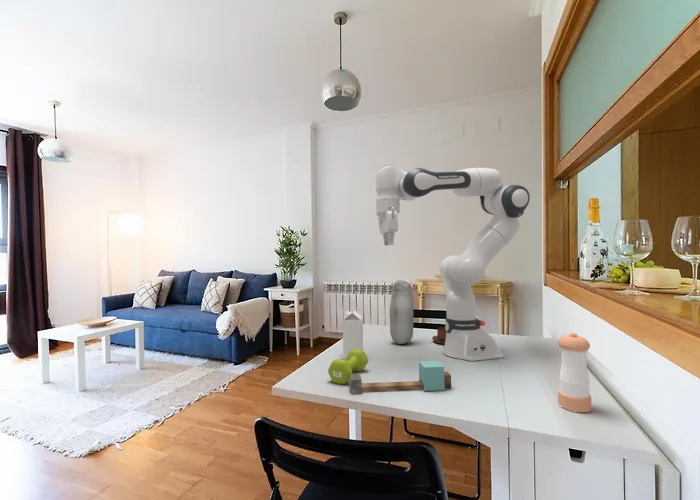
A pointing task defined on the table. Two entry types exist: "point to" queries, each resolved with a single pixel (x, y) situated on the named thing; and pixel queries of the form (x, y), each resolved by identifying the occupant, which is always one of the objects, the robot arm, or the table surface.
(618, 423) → the table surface
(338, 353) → the table surface
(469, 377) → the table surface
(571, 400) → the pepper shaker
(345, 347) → the milk carton
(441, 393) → the table surface
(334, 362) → the dumbbell
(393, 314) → the glass bottle
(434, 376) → the block
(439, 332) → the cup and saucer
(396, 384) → the rail
